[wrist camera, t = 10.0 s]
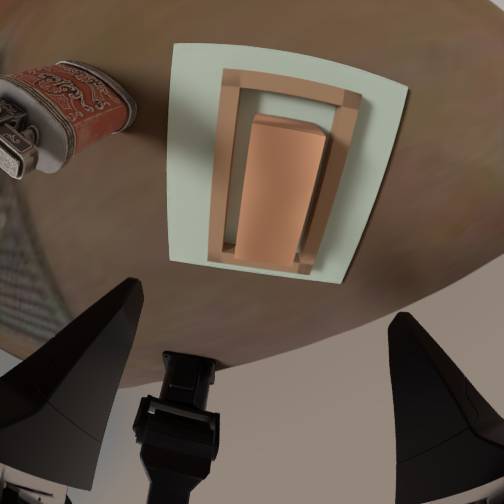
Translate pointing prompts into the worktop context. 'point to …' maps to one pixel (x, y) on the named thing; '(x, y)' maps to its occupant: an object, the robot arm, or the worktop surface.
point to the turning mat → (237, 144)
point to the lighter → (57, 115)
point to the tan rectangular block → (277, 187)
